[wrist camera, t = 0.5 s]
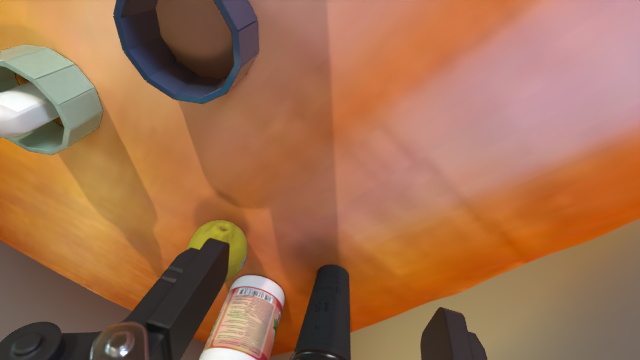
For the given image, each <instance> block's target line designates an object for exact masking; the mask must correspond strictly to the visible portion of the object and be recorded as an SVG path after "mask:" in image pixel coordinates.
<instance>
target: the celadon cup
mask: <svg viewBox="0 0 640 360" xmlns="http://www.w3.org/2000/svg"><path fill="white" fill-rule="evenodd" d="M15 73H17V74H19V75H20V76H22V77H24V78H25V79H27V80H29V81H31V82H32V83H34V84H35V86H36V87H37V88H38V89H39V90H40V91H41V92H42V93H43V94H44V95H45V96H46V97H47V98H48V99H49V100H50V102H51V103H52V104H53V105H54V106H55V108H56V110H57V112H58V115H59V117H60V119H61V121H62V123H63V126H64V127H62V126H60V125H58V124H57V123H55V122H53V121H50V122H48V123H46V124H44V125H42V126H40V127H38V128H36V129H34V130H32V131H30V132H28V133H26V134H24V135H21V136H17V137H11V138H5V139H7V140H9V141H11V142H13V143H14V144H16V145H18V146H20V147H22V148H24V149H26V150H27V151H30V152H36V153H42V154H48V155H54V154H56V153H58V152H60V151H62V150H64V149H66V148H68V147H69V146H71V145H72V144H74V143H76V142H77V141H79V140H80V139H82V138H83V137H85V136H87V135H88V134H90V133H91V132H93V131H94V130H96V129H98V128H99V126H100V122H101V118H102V114H103V108H102V106H101V103H100V100H99V97H98V94H97V91H96V89H95V88H94V86H93V84H92V83H91V82H90V81H89V80H88V79H87V77H86V76H85V75H84V74H83V73H82V71H81V70H80V69H79V68H78V67H77V65H75V64H74V63H73V62H71V61H70V60H68V59H66V58H65V57H63V56H62V55H60V54H58V53H57V52H55V51H54V50H52V49H50V48H48V47H41V46H34V45H27V44H24V45H20V46H16V47H13V48H9V49H5V50H2V51H0V93H1V92H4V91H6V90H9V89H12V88H14V87H17V86H19V84H18V82H17V80H16V78H15Z"/></svg>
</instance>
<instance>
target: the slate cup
mask: <svg viewBox="0 0 640 360" xmlns="http://www.w3.org/2000/svg"><path fill="white" fill-rule="evenodd" d="M157 1H158V0H116V4H115V9H114V13H113V14H114V16H113V17H114V21H115V24H116V28H117V31H118V35H119V38H120V42H121V46H122V49H123V51H124V53H125V54H126V56H127V57H128V58H129V60H130V61H131V62H132V64H133V65H134V66H135V68H136V69H137V70H138V72H139V73H140V75H141V76H142V77H143V79H144V80H147V81H146V82H148V83H149V84H151V85H152V86H154V87H155V88H157V89H158V90H160V91H162V92H163V93H165V94H166V95H168V96H169V97H171V98H172V99H175V100H180V101H187V102H193V103H200V104H203V103H204V104H205V103H207V102H209V101H211V100H213V99H216V98H218V97H220V96H222V95H224V94H227V93H228V92H229V91H230V90H231V89H232V88H233V87H234V86H235V85H236V84H237V83H238V82H239V81H240V80H241V79H242V78H243V77H244V76H246V75H247V73H248V71H249V69H250V67H251V66H252V64H253V62H254V60H255V58H256V57H257V55H258V52H259V36H258V21H257V17H256V15H255V13H254V11H253V9H252V7H251V5H250V3H249V1H248V0H214V2H215V4H216V5H217V7H218V9H219V11H220V13H221V14H222V16H223V18H224V20H225V22H226V23H227V25H228V27H229V29H230V31H231V32H232V45H233V58H234V66H233V68H232V70H231V71H230V73H229V75H228V77H227V78H225V79H215V78H207V77H200V76H198V75H197V74H195V73H194V72H192V71H191V70H189V69H188V68H186V67H185V66H183V65H182V64H180V63H179V62H178V61H177V60H176V59H175V57H174V56H173V54H172V53H171V51H170V50H169V48H168V47H167V45H166V44H165V42H164V41H163V39H162V38H161V34H160V29H159V24H158V19H157V14H156V9H155V8H156V4H157Z"/></svg>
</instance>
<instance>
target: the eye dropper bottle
mask: <svg viewBox="0 0 640 360" xmlns="http://www.w3.org/2000/svg"><path fill="white" fill-rule="evenodd" d="M58 117H59V115H58V112H57V110H56V108H55V106H54V105H53V104H52V103H51V102H50V100H49V99H48V98H47V97H46V96H45V95H44V94H43V93H42V92H41V91H40V90H39V89H38V88H37V87H36V86H35V84H34V83H32V82H31V81H30V82H27V83H25V84H22V85H19V86H17V87H14V88H12V89H9V90H6V91H4V92H1V93H0V138H11V137H17V136H21V135H24V134H26V133H28V132H30V131H32V130H34V129H36V128H38V127H40V126H42V125H44V124H46V123H48V122H50V121H52V120H54V119H56V118H58Z"/></svg>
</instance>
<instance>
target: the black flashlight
mask: <svg viewBox="0 0 640 360" xmlns="http://www.w3.org/2000/svg"><path fill="white" fill-rule="evenodd" d="M350 355H351V354H350V304H349V274H348V272H347V271H346V270H345V269H344V268H342V267H340V266H337V265H325V266H323V267H321V268H320V269H319V270H318V273H317V277H316V280H315V284H314V287H313V290H312V294H311V297H310V301H309V304H308V307H307V311H306V314H305V317H304V321H303V324H302V328H301V331H300V334H299V338H298V341H297V345H296V348H295V351H294V354H292V356H291V358H290V360H351V356H350Z"/></svg>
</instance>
